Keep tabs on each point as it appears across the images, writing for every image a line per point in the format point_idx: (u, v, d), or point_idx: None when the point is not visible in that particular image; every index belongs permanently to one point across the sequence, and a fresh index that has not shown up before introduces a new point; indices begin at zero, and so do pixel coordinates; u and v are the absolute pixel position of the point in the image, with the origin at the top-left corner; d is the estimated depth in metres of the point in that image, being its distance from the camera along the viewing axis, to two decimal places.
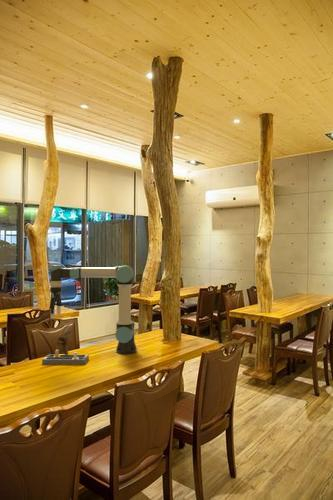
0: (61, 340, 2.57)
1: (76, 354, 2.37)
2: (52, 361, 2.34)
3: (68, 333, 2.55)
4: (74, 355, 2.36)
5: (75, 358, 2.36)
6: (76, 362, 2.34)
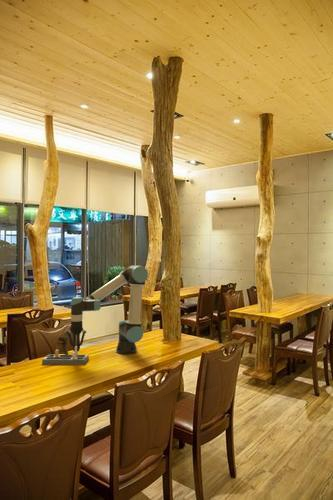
0: (61, 340, 2.57)
1: None
2: (52, 361, 2.34)
3: None
4: (73, 355, 2.36)
5: (74, 358, 2.36)
6: (76, 362, 2.34)
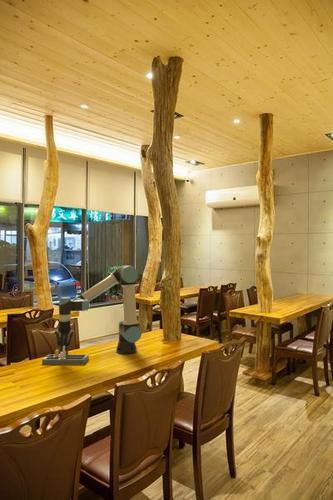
0: None
1: None
2: (52, 361, 2.34)
3: (68, 333, 2.55)
4: (61, 355, 2.36)
5: (62, 358, 2.36)
6: (76, 362, 2.34)
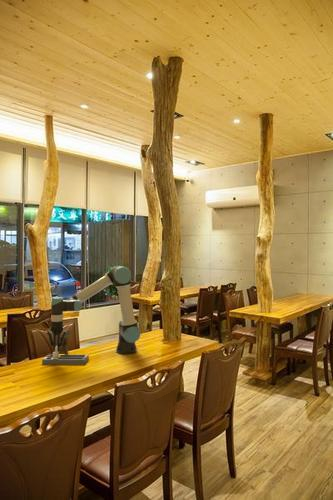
0: None
1: None
2: (52, 361, 2.34)
3: (68, 333, 2.55)
4: (53, 355, 2.36)
5: (54, 358, 2.36)
6: (76, 362, 2.34)
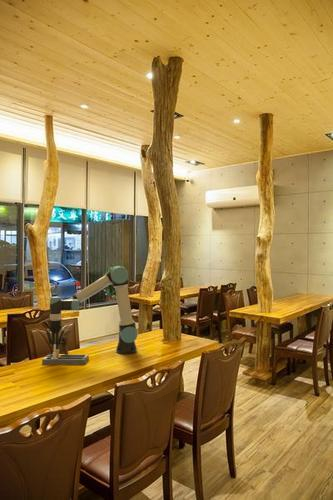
0: None
1: (55, 354, 2.37)
2: (52, 361, 2.34)
3: (68, 333, 2.55)
4: (53, 355, 2.36)
5: (54, 358, 2.36)
6: (76, 362, 2.34)
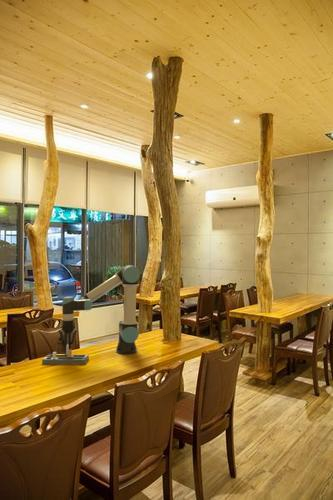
0: None
1: (55, 354, 2.37)
2: (52, 361, 2.34)
3: None
4: (53, 355, 2.36)
5: (54, 358, 2.36)
6: (76, 362, 2.34)
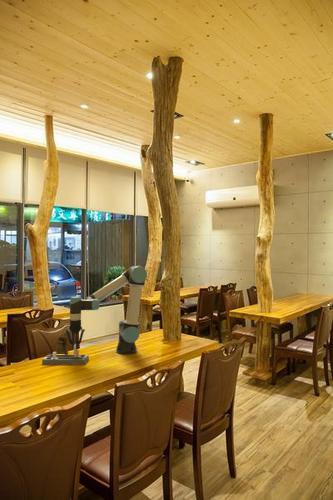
0: (61, 340, 2.57)
1: (55, 354, 2.37)
2: (52, 361, 2.34)
3: None
4: (53, 355, 2.36)
5: (54, 358, 2.36)
6: (76, 362, 2.34)
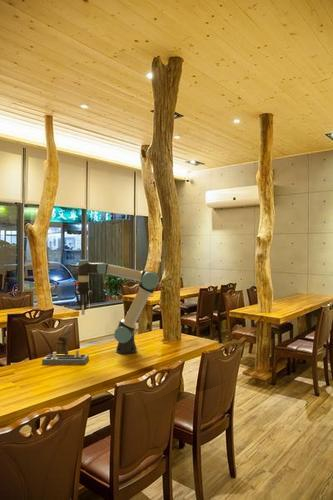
0: (61, 340, 2.57)
1: (55, 354, 2.37)
2: (52, 361, 2.34)
3: (68, 333, 2.55)
4: (53, 355, 2.36)
5: (54, 358, 2.36)
6: (76, 362, 2.34)
